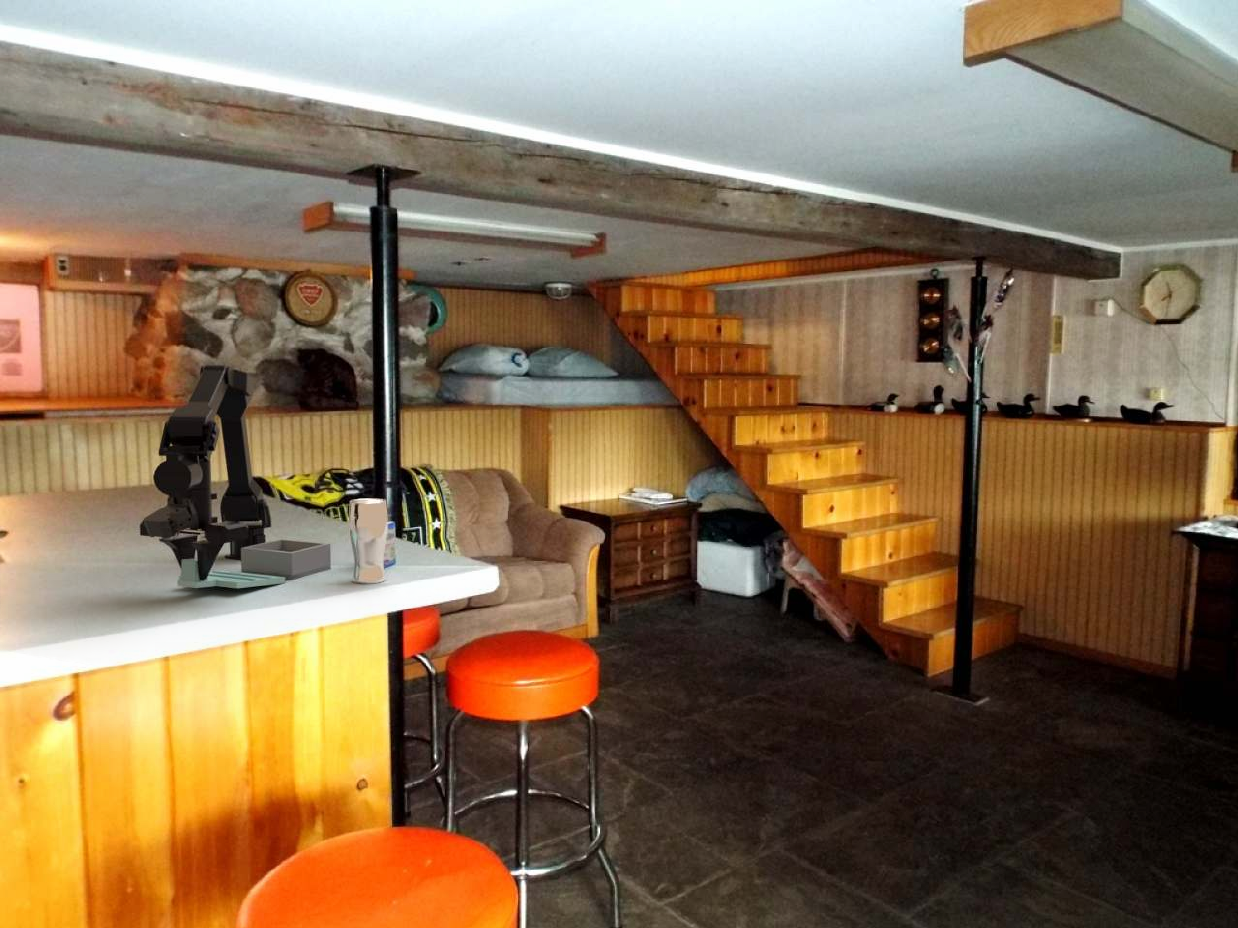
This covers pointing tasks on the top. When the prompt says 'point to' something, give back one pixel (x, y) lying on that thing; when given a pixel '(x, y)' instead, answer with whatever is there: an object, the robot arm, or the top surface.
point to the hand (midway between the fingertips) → (195, 578)
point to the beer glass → (368, 539)
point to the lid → (222, 577)
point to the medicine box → (390, 546)
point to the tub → (286, 558)
